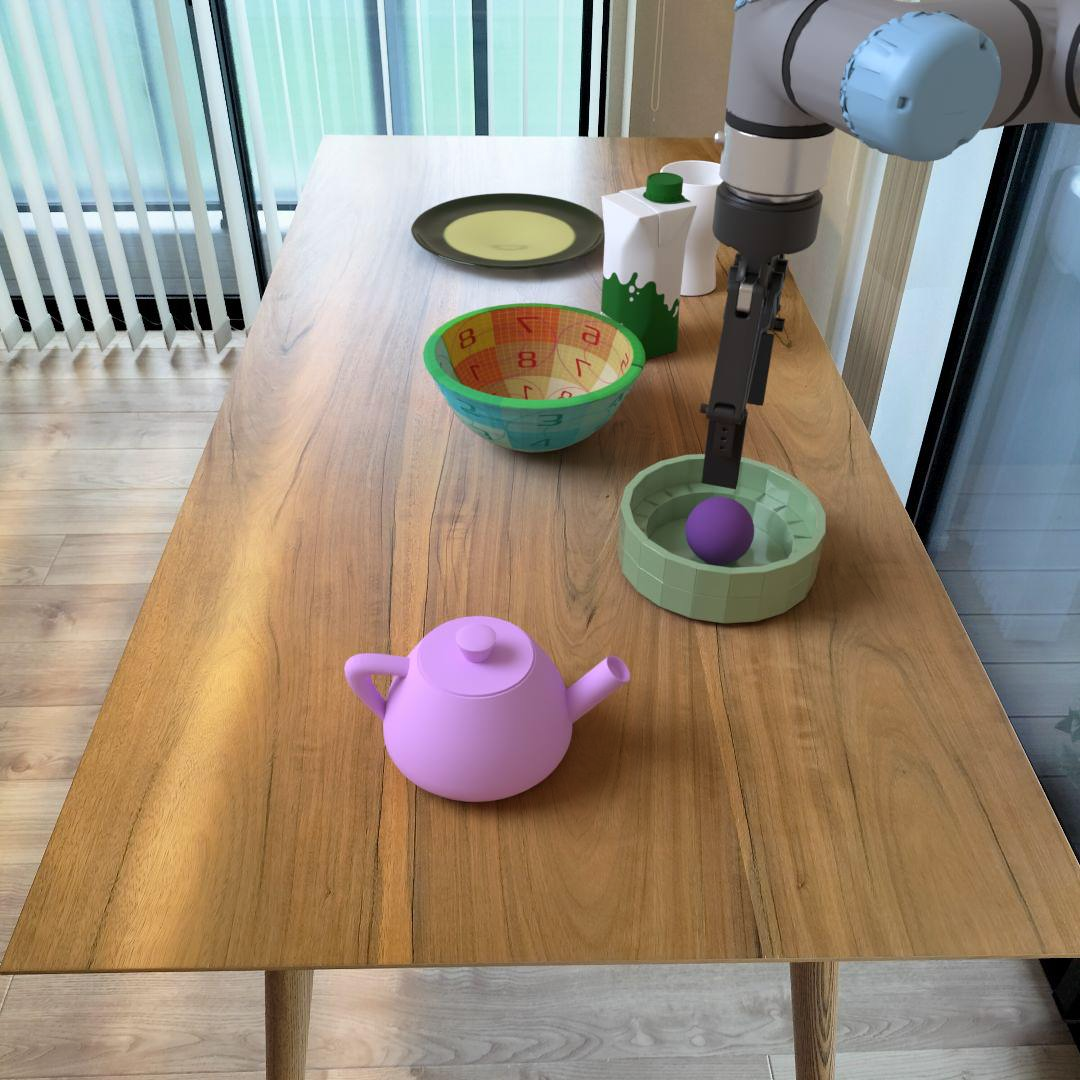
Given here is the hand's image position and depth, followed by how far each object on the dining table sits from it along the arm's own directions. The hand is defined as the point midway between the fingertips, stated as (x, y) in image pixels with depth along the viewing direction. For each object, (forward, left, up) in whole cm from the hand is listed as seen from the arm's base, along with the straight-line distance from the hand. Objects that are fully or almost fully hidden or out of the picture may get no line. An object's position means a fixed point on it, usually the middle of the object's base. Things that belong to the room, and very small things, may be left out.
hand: (734, 440), depth 89 cm
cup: (+42, -43, -13) cm, 62 cm away
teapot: (-3, +29, -13) cm, 32 cm away
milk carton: (+34, -25, -13) cm, 44 cm away
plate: (+68, -34, -13) cm, 77 cm away
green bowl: (0, 0, -13) cm, 13 cm away
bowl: (+27, -2, -13) cm, 30 cm away
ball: (0, 0, -13) cm, 13 cm away
